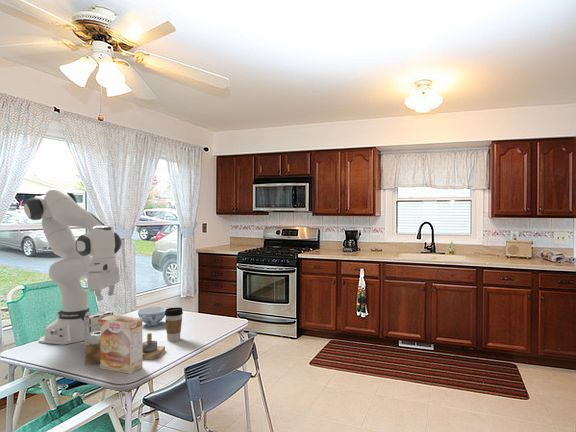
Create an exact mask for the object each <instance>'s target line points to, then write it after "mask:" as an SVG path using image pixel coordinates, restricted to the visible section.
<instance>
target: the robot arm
mask: <svg viewBox="0 0 576 432" xmlns="http://www.w3.org/2000/svg"><path fill="white" fill-rule="evenodd" d="M23 211H24V213H25V214H26V216H27V217H28V219H30V220H31V221H39V220H41V226H42V230H43V234H44V236H45V238H46V241H47V243H48V246H49V247H50V248H51V250H52V253H53V254H55V255H57V256H59V257H60V258H62V259H60V260H58V261H56V262H53V263H52V264H51V265H50V266H49V269H48V277H49V278H50V279H51V281H52V282H54V283H55V284H56V285H57V286H58V288H59V290H60V293H61V302H62V303H61V304H62V306H61V307H62V309H60V310H59V311H58V312H57V313H56V316H58V318H56V320H55V319H54V321H52V322H51V323H50V324H49V325H47V326H46V328H45V329H44V330H45V331H44V335H43V336H41V337H39V339H38V343H41V344H42V343H43V344H52V345H53V344H54V345H55V344H56V345H63V346H64V345H68V344H71V343H73V344H74V343H78V342H82V341H84V316H87V315H90V307H89V292H94V294H95V297H96V301H97V302H101V301H102V300H104V297H103V296H104V295H102V290H103V289H106V288H108V291H107V293H108V294H107V295H108V296H114V295H115V292H114V291H115V288H116V284H118V283H120V280H121V278H120V275H121V274H120V269H119V266H118V265H117V263H116V262H117V260H116V256H117V255H116V254H117V253H118V252H119V250H120V249H121V248H122V239H121V237H120V235H119V234H118V233H116V232H115V231H114V229H113V228H112V227H111V226H108V225H105V224H104V223H103V222H102V221H101V220H100V219H99V218H98V217H97V216H96V215H94V214H93V213H91V212H90V211H87V210H86V209H84V208H83V207H81V206H80V205H79V204H78V203H77V198H76V196H75V194H74V193H73V192H72V191H69V190H67V191H66V190H63V189H61V188H52V189H50V190H48V191H47V192H46V193H44V194H43V195H40V196H37V197H31V198H28V199H27V200H25V202H24V203H23ZM71 227H79V228H82V229H87V230H89V231H88V232H87V233H84V234H81V235H79V236H78V238H77V239H76V238H75V236H74V233H73V231H72V229H71ZM85 279H87V280H86V282H87V283H86V284H87V289H88V290H87V289H86V288H83V286H82V284H81V280H85Z"/></svg>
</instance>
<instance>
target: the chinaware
mask: <svg viewBox="0 0 576 432" xmlns="http://www.w3.org/2000/svg"><path fill="white" fill-rule="evenodd" d="M166 309H167V308H166V307H164V306H149V307H143V308H141V309H138V310H137V314H138V318H141V319H142V323H144V324H145V325H146V326H148V327H153V326H154V327H155V326H157V325H159V323H160V322H162V320H163V319H164V318H165V317H166V315H165V310H166Z"/></svg>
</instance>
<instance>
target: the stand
mask: <svg viewBox="0 0 576 432" xmlns="http://www.w3.org/2000/svg"><path fill="white" fill-rule="evenodd" d="M84 365H85V366H87V365H89V366H91V365H93V366H96V365H97V366H101V344H90V343H87V344H85V347H84Z"/></svg>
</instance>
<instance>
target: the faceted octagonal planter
mask: <svg viewBox="0 0 576 432" xmlns="http://www.w3.org/2000/svg"><path fill="white" fill-rule="evenodd" d="M89 343H90V344H101V331H95V332H92V333H90V334H89Z"/></svg>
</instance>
